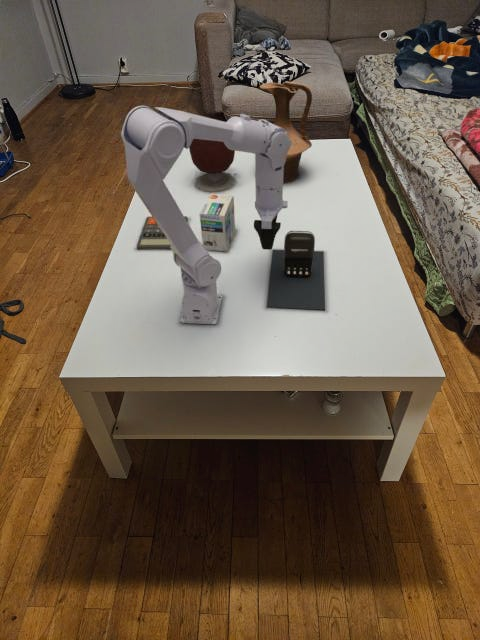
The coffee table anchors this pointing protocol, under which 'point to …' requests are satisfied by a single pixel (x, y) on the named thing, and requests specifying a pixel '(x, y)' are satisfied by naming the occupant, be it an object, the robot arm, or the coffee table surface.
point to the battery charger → (298, 253)
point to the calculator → (153, 236)
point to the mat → (296, 285)
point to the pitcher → (282, 120)
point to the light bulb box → (217, 222)
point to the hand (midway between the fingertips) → (268, 238)
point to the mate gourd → (212, 164)
